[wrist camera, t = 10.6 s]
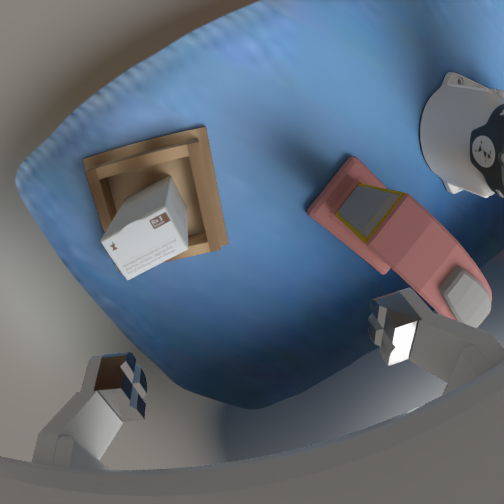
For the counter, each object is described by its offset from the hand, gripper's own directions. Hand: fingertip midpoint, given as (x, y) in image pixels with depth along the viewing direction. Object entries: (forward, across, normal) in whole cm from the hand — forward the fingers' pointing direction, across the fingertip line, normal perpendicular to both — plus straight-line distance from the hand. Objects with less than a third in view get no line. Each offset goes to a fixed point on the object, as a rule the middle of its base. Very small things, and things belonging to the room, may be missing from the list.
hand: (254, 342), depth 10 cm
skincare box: (+27, +7, +3) cm, 28 cm away
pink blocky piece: (+28, -18, +11) cm, 36 cm away
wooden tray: (+27, +7, +3) cm, 28 cm away
